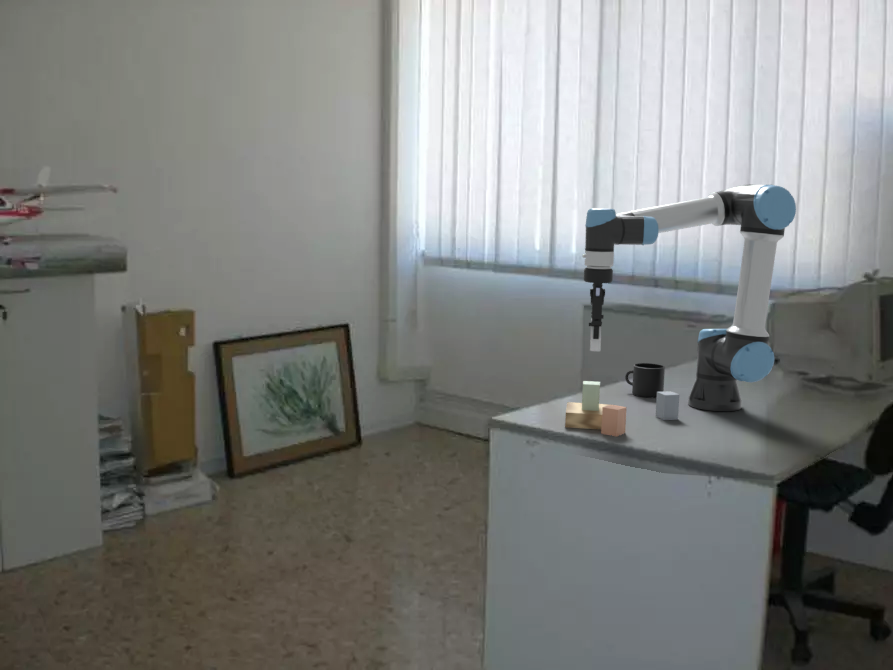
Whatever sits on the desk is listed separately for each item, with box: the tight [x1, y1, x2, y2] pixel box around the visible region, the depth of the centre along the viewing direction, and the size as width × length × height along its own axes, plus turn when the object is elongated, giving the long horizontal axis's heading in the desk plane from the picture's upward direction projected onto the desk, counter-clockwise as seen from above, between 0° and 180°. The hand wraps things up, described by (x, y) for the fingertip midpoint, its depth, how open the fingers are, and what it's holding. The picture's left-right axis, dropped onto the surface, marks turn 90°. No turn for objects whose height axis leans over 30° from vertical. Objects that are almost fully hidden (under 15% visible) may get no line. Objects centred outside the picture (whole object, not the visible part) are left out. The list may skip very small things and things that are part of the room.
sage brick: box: [581, 380, 601, 411], centre depth 275 cm, size 4×4×7 cm
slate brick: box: [655, 390, 680, 421], centre depth 284 cm, size 4×4×7 cm
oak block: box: [564, 401, 610, 430], centre depth 276 cm, size 13×13×4 cm
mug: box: [624, 362, 666, 399], centre depth 315 cm, size 9×12×9 cm
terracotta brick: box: [600, 404, 627, 437], centre depth 265 cm, size 4×4×7 cm
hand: (595, 347), depth 273 cm, fingers open, 13 cm apart
